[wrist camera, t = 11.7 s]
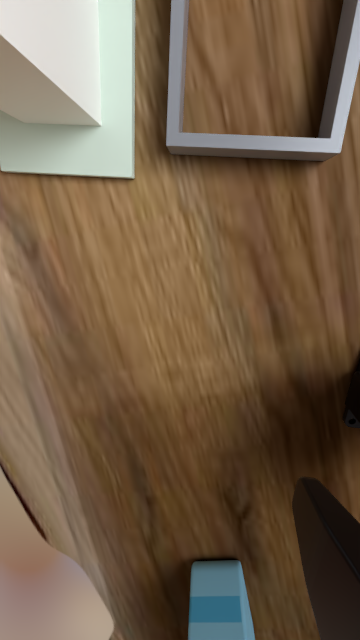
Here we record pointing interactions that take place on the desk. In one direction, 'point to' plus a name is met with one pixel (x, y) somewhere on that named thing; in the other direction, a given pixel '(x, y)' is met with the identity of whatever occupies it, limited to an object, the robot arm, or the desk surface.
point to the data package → (219, 602)
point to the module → (50, 61)
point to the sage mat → (84, 140)
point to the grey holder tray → (351, 47)
